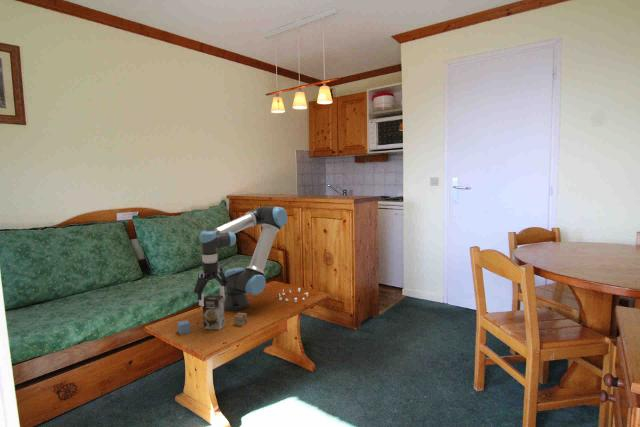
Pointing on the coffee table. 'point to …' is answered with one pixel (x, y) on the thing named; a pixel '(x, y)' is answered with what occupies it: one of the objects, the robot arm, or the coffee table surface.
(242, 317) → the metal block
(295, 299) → the game piece set
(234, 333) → the coffee table surface
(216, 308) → the coffee box
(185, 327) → the slate block
